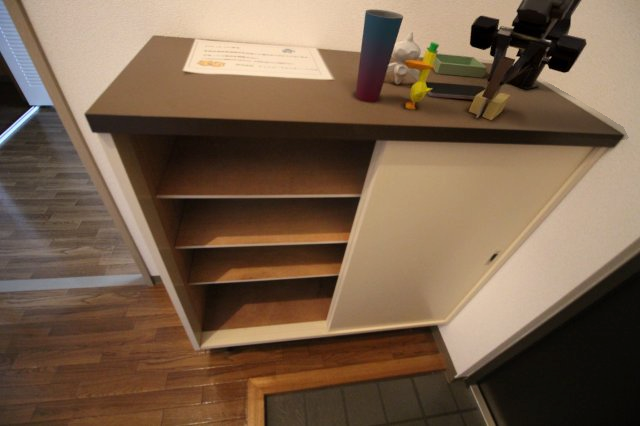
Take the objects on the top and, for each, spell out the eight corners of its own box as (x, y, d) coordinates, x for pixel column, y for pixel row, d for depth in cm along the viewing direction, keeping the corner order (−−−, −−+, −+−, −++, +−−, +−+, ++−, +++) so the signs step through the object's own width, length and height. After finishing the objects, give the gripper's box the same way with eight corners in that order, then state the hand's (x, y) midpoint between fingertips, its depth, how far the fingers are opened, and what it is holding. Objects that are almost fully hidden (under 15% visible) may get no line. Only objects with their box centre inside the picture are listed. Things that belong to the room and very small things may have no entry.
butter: (479, 103, 65) (487, 87, 62) (501, 111, 63) (510, 95, 60) (468, 111, 61) (475, 95, 58) (491, 120, 59) (500, 103, 56)
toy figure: (393, 108, 58) (412, 42, 50) (392, 101, 61) (410, 37, 52) (426, 112, 58) (450, 47, 50) (423, 105, 61) (446, 42, 52)
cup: (381, 106, 59) (403, 20, 48) (349, 100, 59) (364, 14, 49) (383, 93, 63) (403, 13, 53) (353, 88, 64) (367, 7, 53)
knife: (476, 112, 61) (505, 56, 53) (486, 115, 60) (516, 59, 52) (471, 116, 59) (500, 58, 51) (481, 119, 58) (511, 61, 50)
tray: (469, 66, 85) (473, 57, 83) (482, 77, 78) (487, 67, 76) (427, 62, 84) (430, 52, 82) (436, 73, 77) (440, 63, 75)
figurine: (372, 84, 67) (384, 30, 59) (372, 77, 70) (383, 25, 63) (423, 91, 66) (441, 38, 59) (420, 84, 70) (437, 32, 62)
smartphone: (422, 81, 69) (483, 86, 70) (421, 86, 70) (481, 90, 70) (430, 93, 64) (495, 98, 64) (428, 98, 65) (493, 102, 65)
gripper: (501, -41, 49) (448, 39, 51) (631, -24, 41) (563, 71, 42) (493, 11, 59) (448, 76, 61) (596, 33, 51) (542, 108, 52)
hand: (494, 82), depth 54 cm, fingers closed on knife, 2 cm apart
